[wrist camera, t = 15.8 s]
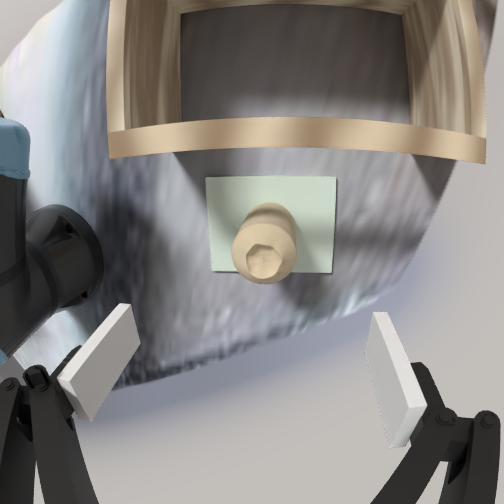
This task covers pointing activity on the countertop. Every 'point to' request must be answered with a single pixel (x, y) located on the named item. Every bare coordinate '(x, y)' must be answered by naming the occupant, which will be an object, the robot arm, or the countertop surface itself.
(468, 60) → the access cubby
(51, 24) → the countertop surface
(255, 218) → the candle
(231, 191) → the mat
